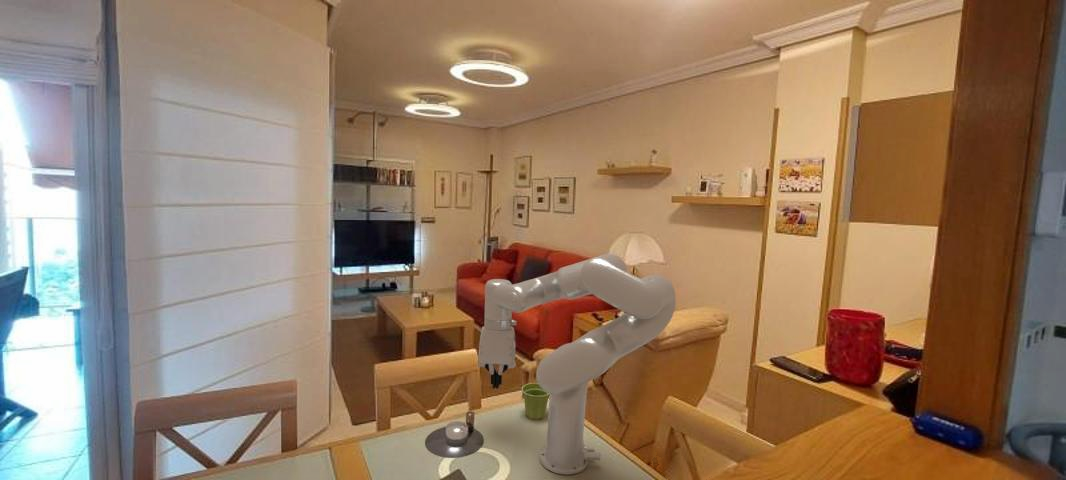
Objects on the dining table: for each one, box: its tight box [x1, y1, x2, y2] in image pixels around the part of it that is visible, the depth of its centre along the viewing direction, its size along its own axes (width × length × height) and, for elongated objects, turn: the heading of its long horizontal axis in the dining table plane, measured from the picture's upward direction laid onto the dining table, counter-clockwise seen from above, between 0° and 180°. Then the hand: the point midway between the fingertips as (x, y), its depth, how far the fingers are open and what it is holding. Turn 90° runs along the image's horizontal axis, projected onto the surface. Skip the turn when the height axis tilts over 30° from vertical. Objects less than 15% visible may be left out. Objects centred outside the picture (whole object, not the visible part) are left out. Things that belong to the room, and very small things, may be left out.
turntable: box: [424, 410, 485, 459], centre depth 125 cm, size 16×16×6 cm
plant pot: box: [521, 382, 550, 421], centre depth 144 cm, size 9×9×9 cm
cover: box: [445, 421, 468, 447], centre depth 125 cm, size 6×6×4 cm
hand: (496, 386), depth 129 cm, fingers closed
